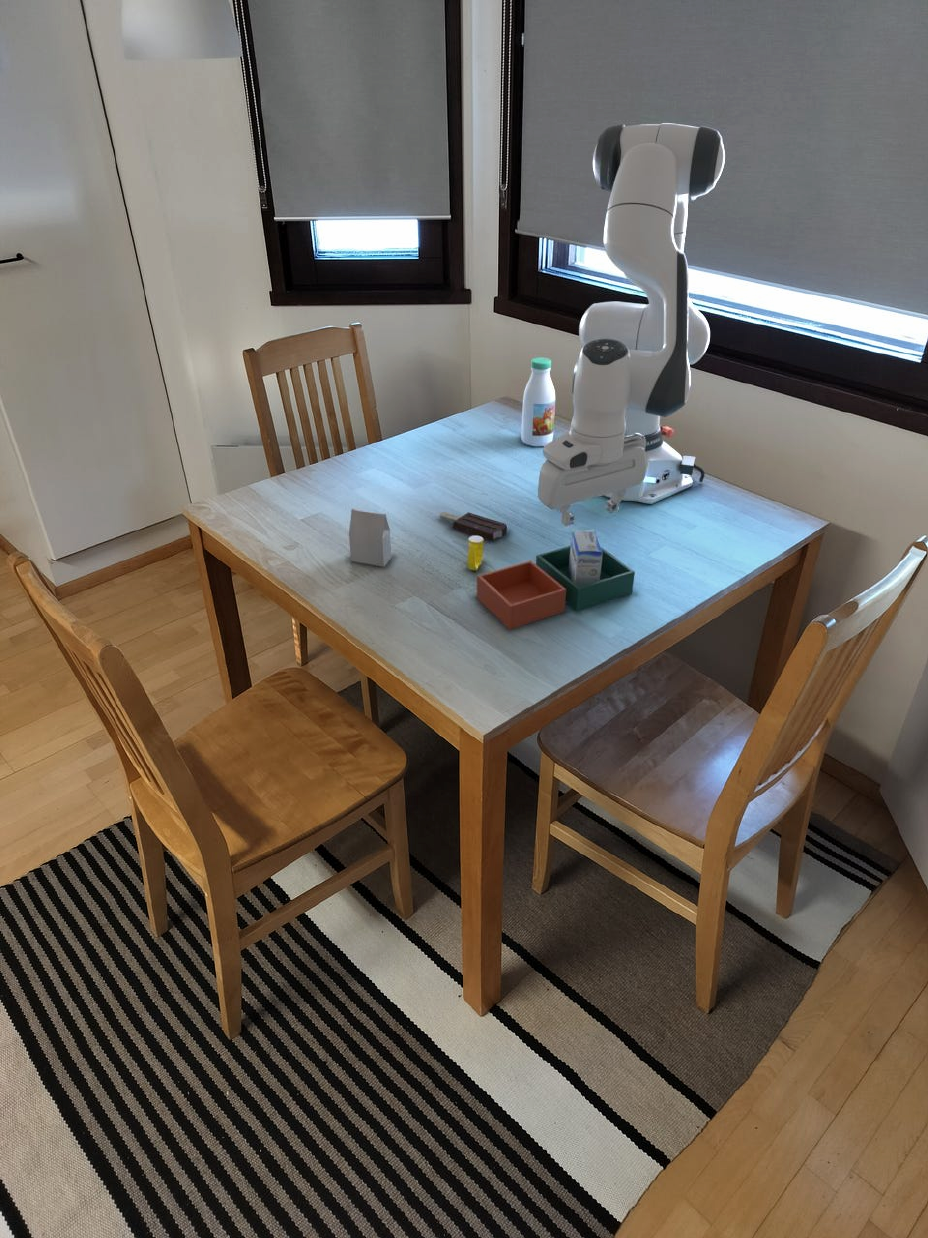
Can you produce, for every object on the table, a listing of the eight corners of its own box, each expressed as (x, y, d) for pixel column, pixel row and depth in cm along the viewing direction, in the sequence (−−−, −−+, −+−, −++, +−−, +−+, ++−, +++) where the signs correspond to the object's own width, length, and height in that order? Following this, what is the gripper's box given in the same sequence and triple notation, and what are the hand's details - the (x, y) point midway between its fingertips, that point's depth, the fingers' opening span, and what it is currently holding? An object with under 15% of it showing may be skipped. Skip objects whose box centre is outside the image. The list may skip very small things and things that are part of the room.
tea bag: (383, 566, 164) (381, 519, 158) (350, 560, 166) (347, 513, 160) (391, 557, 167) (389, 510, 161) (358, 551, 169) (355, 505, 163)
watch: (478, 575, 161) (478, 547, 158) (463, 573, 162) (463, 545, 159) (486, 560, 166) (487, 532, 163) (472, 558, 167) (473, 530, 163)
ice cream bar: (433, 522, 179) (495, 542, 172) (433, 515, 178) (495, 535, 171) (448, 512, 182) (509, 532, 175) (448, 505, 181) (509, 524, 175)
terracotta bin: (529, 581, 160) (530, 560, 157) (564, 611, 152) (566, 589, 149) (476, 597, 155) (476, 575, 153) (509, 629, 147) (510, 606, 145)
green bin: (588, 560, 166) (591, 539, 164) (632, 593, 157) (635, 571, 154) (535, 576, 161) (536, 555, 159) (576, 611, 152) (578, 589, 149)
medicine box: (567, 571, 162) (571, 529, 157) (591, 570, 162) (595, 529, 157) (574, 594, 155) (577, 551, 150) (598, 593, 155) (603, 551, 151)
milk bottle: (519, 445, 211) (522, 364, 200) (522, 433, 218) (526, 353, 206) (551, 448, 210) (556, 365, 199) (553, 435, 217) (559, 355, 205)
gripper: (634, 424, 150) (626, 496, 158) (534, 448, 142) (531, 523, 150) (658, 437, 145) (648, 510, 153) (556, 463, 137) (551, 539, 145)
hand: (589, 517), depth 152 cm, fingers open, 8 cm apart
